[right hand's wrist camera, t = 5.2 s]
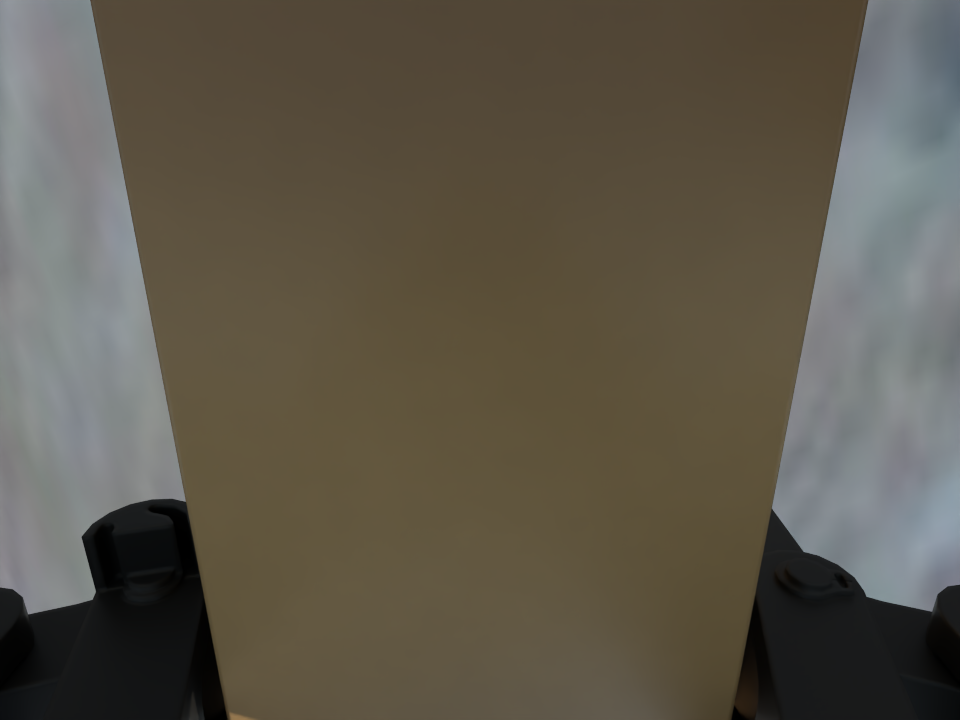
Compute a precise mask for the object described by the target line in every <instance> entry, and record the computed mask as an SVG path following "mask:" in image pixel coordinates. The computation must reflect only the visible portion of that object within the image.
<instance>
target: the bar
mask: <svg viewBox="0 0 960 720" xmlns="http://www.w3.org/2000/svg"><path fill="white" fill-rule="evenodd" d="M867 4H868V0H91V6H92V11H93V16H94V21H95V27H96V32H97V37H98V42H99V48H100V53H101V58H102V63H103V69H104V74H105V79H106V84H107V90H108V95H109V100H110V105H111V111H112V116H113V121H114V126H115V132H116V137H117V142H118V147H119V152H120V158H121V163H122V168H123V173H124V179H125V184H126V189H127V194H128V200H129V205H130V210H131V215H132V221H133V226H134V231H135V236H136V242H137V247H138V252H139V257H140V263H141V268H142V273H143V278H144V284H145V289H146V294H147V299H148V305H149V310H150V315H151V320H152V326H153V331H154V336H155V341H156V347H157V352H158V357H159V362H160V368H161V373H162V378H163V383H164V389H165V394H166V399H167V404H168V410H169V415H170V420H171V425H172V431H173V436H174V441H175V446H176V451H177V457H178V462H179V467H180V472H181V478H182V483H183V488H184V493H185V499H186V504H187V509H188V514H189V520H190V525H191V530H192V535H193V541H194V546H195V551H196V556H197V562H198V567H199V572H200V577H201V583H202V588H203V593H204V598H205V604H206V609H207V614H208V619H209V625H210V630H211V635H212V640H213V646H214V651H215V656H216V661H217V667H218V672H219V677H220V682H221V688H222V693H223V698H224V703H225V709H226V714H227V719H228V720H731V719H732V714H733V709H734V703H735V698H736V693H737V688H738V682H739V677H740V672H741V667H742V661H743V656H744V651H745V646H746V640H747V635H748V630H749V625H750V619H751V614H752V609H753V604H754V598H755V593H756V588H757V582H758V577H759V572H760V567H761V561H762V556H763V551H764V546H765V540H766V535H767V530H768V525H769V519H770V514H771V509H772V504H773V498H774V493H775V488H776V483H777V477H778V472H779V467H780V462H781V456H782V451H783V446H784V441H785V435H786V430H787V425H788V420H789V414H790V409H791V404H792V399H793V393H794V388H795V383H796V377H797V372H798V367H799V362H800V356H801V351H802V346H803V341H804V335H805V330H806V325H807V320H808V314H809V309H810V304H811V299H812V293H813V288H814V283H815V278H816V272H817V267H818V262H819V257H820V251H821V246H822V241H823V236H824V230H825V225H826V220H827V215H828V209H829V204H830V199H831V194H832V188H833V183H834V178H835V173H836V167H837V162H838V157H839V151H840V146H841V141H842V136H843V130H844V125H845V120H846V115H847V109H848V104H849V99H850V94H851V88H852V83H853V78H854V73H855V67H856V62H857V57H858V52H859V46H860V41H861V36H862V31H863V25H864V20H865V15H866V10H867Z"/></svg>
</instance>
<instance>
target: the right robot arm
mask: <svg viewBox="0 0 960 720" xmlns="http://www.w3.org/2000/svg"><path fill="white" fill-rule="evenodd" d="M82 540H83V544H84V548H85V551H86V555H87V559H88V563H89V567H90V570H91V574H92V578H93V582H94V585H95V589H96V593H95V596H94V598H93V600H90V601H87V602H83V603H80V604H76V605H71V606H66V607H62V608H57V609H52V610H48V611H43V612H38V613H34V614H29V615H28V613H27V610H26V607H25V603H24V600H23V597H22V596H20V595H19V594H18V593H17V592H15V591H14V590H13V589H6V588H0V720H228V719H227V714H226V709H225V703H224V698H223V693H222V688H221V682H220V677H219V672H218V667H217V661H216V656H215V651H214V646H213V640H212V635H211V630H210V625H209V619H208V614H207V609H206V604H205V598H204V593H203V588H202V583H201V577H200V572H199V567H198V562H197V556H196V551H195V546H194V541H193V535H192V530H191V525H190V520H189V514H188V509H187V504H186V502H183V501H179V500H175V499H154V500H148V501H143V502H139V503H134V504H130V505H128V506H125V507H123V508H120V509H118V510H115V511H113V512H110V513H109V514H107V515H106V516H104V517H102V518H101V519H99V520H98V521H96V522H95V523H93V524H92V525H91V526H90V528H89V529H88V530H87V531H86V532H85V533H84V535H83V536H82ZM731 720H960V585H955V586H948V587H946V588H945V589H944V590H943V591H941V592H940V593H939V594H938V595H937V598H936V602H935V605H934V608H933V611H932V612H930V611H925V610H921V609H916V608H911V607H907V606H902V605H897V604H892V603H888V602H883V601H879V600H876V599H872V598H869V597H866V595H865V592H864V590H863V589H862V588H861V586H860V585H859V583H858V582H857V581H856V579H855V578H854V577H853V576H852V575H850V574H849V573H848V572H847V571H845V570H844V569H843V568H841V567H840V566H839V565H837V564H835V563H833V562H830V561H828V560H826V559H824V558H822V557H820V556H817V555H813V554H809V553H805V552H803V551H802V549H801V548H800V546H799V545H798V544H797V542H796V541H795V540H794V538H793V537H792V536H791V534H790V533H789V531H788V530H787V529H786V527H785V526H784V525H783V523H782V522H781V521H780V519H779V518H778V516H777V515H776V514H775V512H774V511H773V510H772V509H771V514H770V519H769V525H768V530H767V535H766V540H765V546H764V551H763V556H762V561H761V567H760V572H759V577H758V582H757V588H756V593H755V598H754V604H753V609H752V614H751V619H750V625H749V630H748V635H747V640H746V646H745V651H744V656H743V661H742V667H741V672H740V677H739V682H738V688H737V693H736V698H735V703H734V709H733V714H732V719H731Z"/></svg>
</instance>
